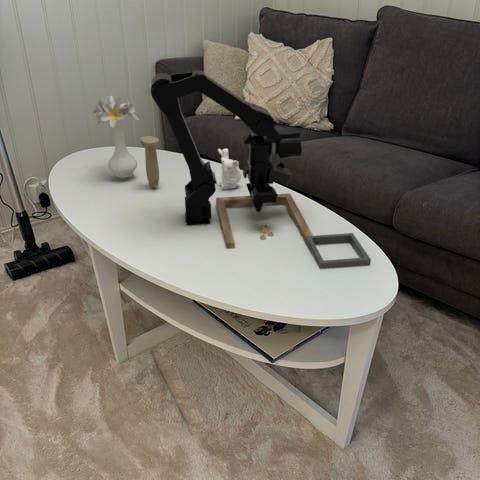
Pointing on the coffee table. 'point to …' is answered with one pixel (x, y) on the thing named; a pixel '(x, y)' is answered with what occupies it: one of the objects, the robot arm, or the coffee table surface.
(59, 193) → the coffee table surface
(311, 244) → the bin
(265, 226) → the dice set
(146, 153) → the handle
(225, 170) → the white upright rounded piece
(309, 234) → the wooden u-frame
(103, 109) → the flower vase
